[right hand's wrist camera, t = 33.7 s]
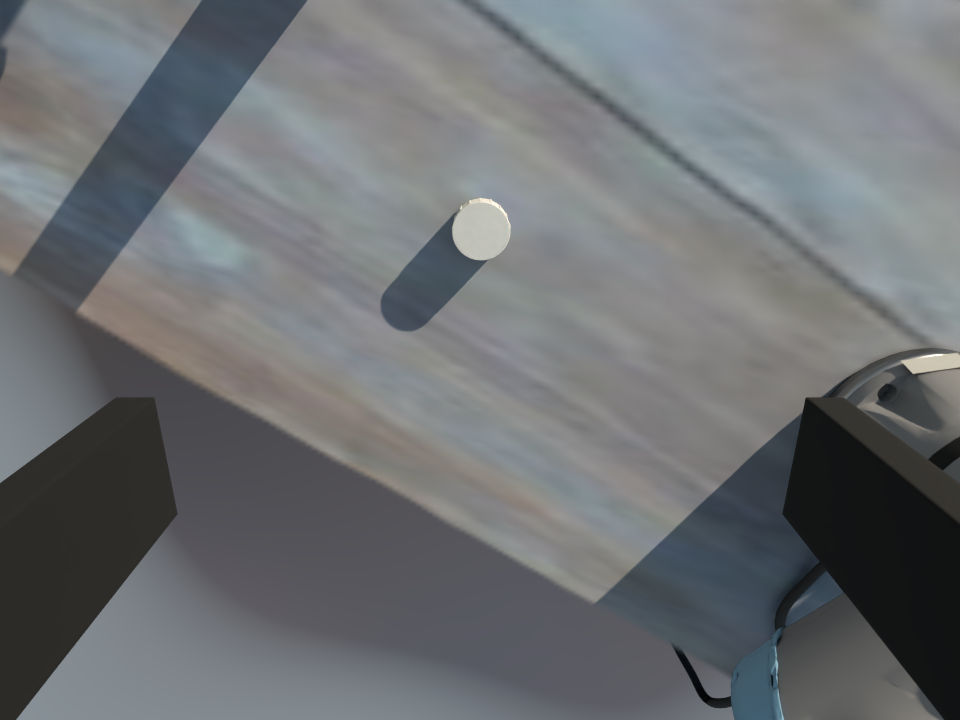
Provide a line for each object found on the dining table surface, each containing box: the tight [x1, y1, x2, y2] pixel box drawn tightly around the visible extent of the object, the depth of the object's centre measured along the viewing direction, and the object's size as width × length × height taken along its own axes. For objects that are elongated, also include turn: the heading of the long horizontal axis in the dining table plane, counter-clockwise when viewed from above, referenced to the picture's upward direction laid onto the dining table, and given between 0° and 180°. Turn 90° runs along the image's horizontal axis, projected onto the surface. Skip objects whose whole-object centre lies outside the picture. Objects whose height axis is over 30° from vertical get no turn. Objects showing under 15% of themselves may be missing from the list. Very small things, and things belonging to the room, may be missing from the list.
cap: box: [451, 198, 511, 261], centre depth 42 cm, size 4×4×2 cm
